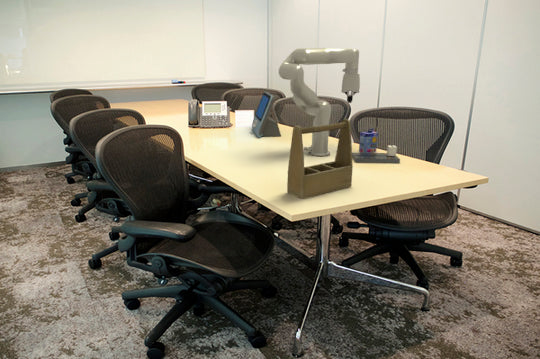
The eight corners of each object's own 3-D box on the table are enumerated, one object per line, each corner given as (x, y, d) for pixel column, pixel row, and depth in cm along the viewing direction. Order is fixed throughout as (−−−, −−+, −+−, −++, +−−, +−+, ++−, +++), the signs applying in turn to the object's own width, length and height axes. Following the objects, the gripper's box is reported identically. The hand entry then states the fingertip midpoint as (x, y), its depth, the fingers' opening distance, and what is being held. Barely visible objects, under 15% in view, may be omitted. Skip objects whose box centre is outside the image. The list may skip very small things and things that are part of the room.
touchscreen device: (249, 129, 323) (250, 90, 314) (274, 129, 326) (275, 91, 317) (255, 138, 290) (256, 95, 281) (282, 138, 293) (284, 95, 284)
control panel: (355, 162, 227) (356, 158, 226) (351, 156, 241) (351, 152, 240) (399, 163, 227) (400, 158, 226) (392, 157, 240) (393, 152, 239)
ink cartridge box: (364, 153, 248) (365, 129, 244) (358, 151, 253) (359, 128, 249) (376, 152, 253) (378, 128, 248) (370, 150, 257) (372, 127, 253)
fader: (388, 155, 230) (389, 146, 229) (386, 154, 235) (387, 145, 233) (396, 155, 230) (396, 147, 229) (393, 154, 235) (394, 145, 233)
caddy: (302, 199, 170) (304, 127, 162) (286, 192, 179) (287, 123, 170) (351, 186, 187) (356, 120, 178) (335, 181, 195) (338, 117, 186)
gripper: (339, 71, 240) (337, 103, 246) (365, 71, 240) (363, 103, 245) (337, 70, 248) (336, 101, 253) (362, 71, 247) (360, 102, 253)
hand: (349, 102), depth 249 cm, fingers closed
